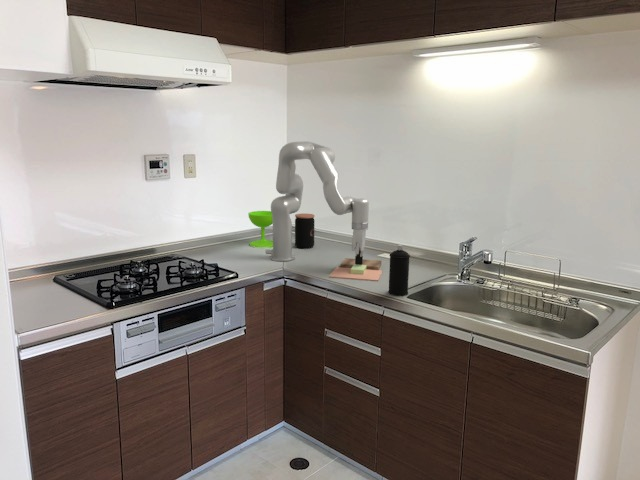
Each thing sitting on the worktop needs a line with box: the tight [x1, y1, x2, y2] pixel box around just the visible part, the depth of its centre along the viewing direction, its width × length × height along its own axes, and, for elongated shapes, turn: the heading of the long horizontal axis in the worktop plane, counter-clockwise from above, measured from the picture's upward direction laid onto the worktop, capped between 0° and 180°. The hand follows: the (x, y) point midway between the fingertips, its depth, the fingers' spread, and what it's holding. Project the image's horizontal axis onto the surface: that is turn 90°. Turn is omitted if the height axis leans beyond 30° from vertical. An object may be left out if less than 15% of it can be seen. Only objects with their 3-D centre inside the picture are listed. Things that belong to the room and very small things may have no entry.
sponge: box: [351, 264, 367, 275], centre depth 240 cm, size 6×9×2 cm, turn 167°
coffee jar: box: [294, 213, 315, 250], centre depth 288 cm, size 11×11×18 cm
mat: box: [328, 266, 383, 282], centre depth 238 cm, size 22×16×1 cm
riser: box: [340, 257, 382, 270], centre depth 251 cm, size 18×12×2 cm, turn 76°
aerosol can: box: [387, 244, 411, 297], centre depth 210 cm, size 8×8×20 cm
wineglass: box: [248, 210, 273, 248], centre depth 292 cm, size 16×16×18 cm
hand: (358, 264), depth 243 cm, fingers closed
